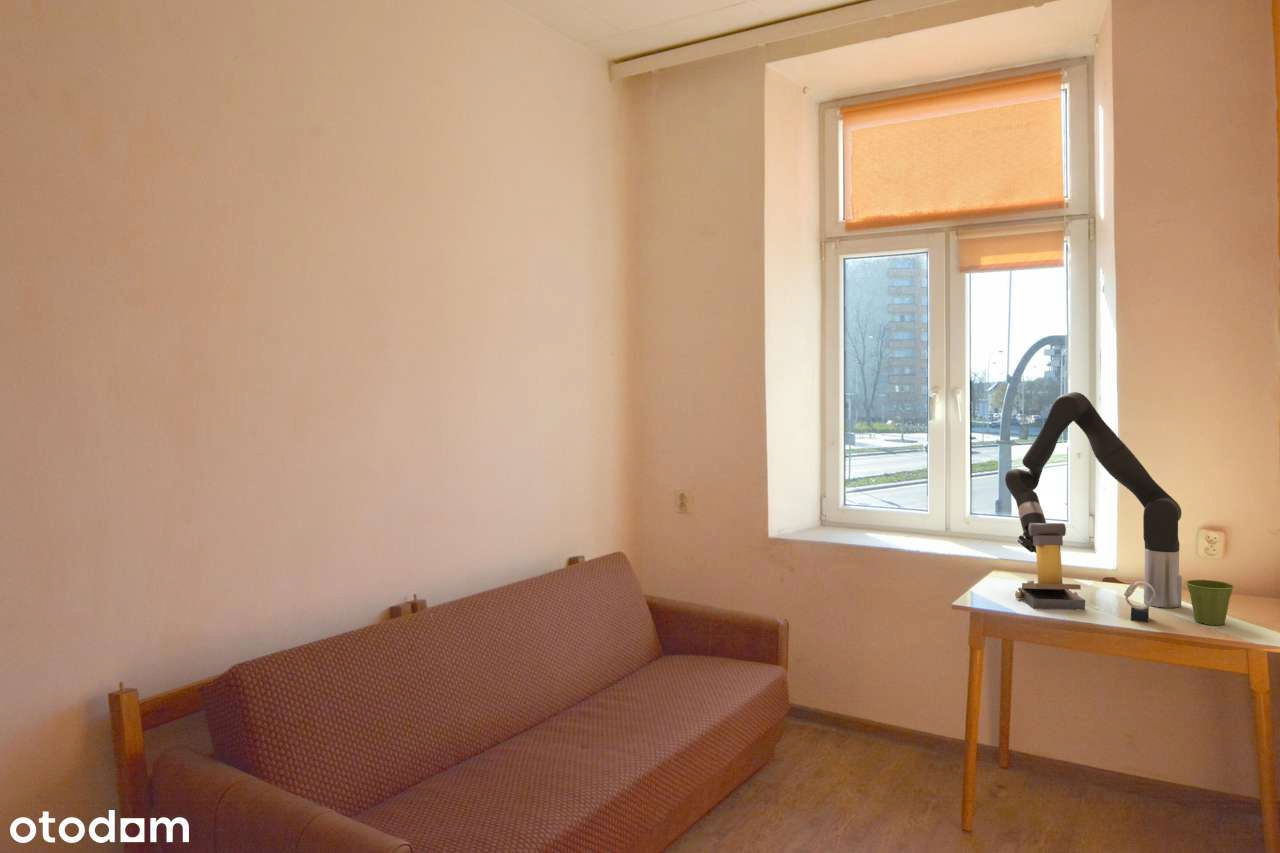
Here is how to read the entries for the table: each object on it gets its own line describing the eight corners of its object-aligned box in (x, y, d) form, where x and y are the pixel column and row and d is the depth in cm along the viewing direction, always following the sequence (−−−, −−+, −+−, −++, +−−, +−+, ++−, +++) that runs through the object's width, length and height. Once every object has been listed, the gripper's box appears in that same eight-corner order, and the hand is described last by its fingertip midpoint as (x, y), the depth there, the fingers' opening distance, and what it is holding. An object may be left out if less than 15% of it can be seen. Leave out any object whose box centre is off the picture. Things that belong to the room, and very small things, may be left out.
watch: (1123, 615, 254) (1124, 578, 254) (1155, 618, 250) (1156, 581, 250) (1123, 619, 250) (1123, 582, 249) (1155, 623, 245) (1155, 585, 245)
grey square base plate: (1070, 596, 277) (1070, 587, 277) (1090, 609, 261) (1090, 600, 260) (1011, 595, 279) (1011, 586, 279) (1028, 608, 263) (1028, 598, 263)
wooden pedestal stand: (1064, 588, 275) (1060, 524, 278) (1080, 589, 261) (1076, 522, 265) (1022, 587, 277) (1018, 524, 280) (1036, 588, 263) (1032, 521, 266)
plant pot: (1214, 616, 252) (1215, 578, 251) (1244, 627, 240) (1245, 588, 239) (1175, 617, 251) (1176, 579, 251) (1203, 628, 240) (1204, 588, 239)
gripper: (1013, 511, 285) (1025, 555, 273) (1055, 511, 283) (1069, 555, 271) (1009, 524, 290) (1020, 568, 279) (1050, 525, 288) (1062, 568, 277)
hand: (1044, 561), depth 275 cm, fingers closed
